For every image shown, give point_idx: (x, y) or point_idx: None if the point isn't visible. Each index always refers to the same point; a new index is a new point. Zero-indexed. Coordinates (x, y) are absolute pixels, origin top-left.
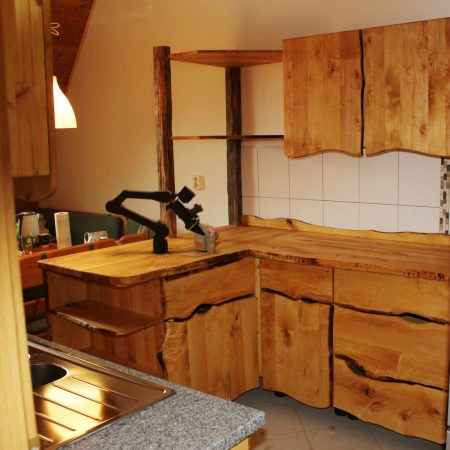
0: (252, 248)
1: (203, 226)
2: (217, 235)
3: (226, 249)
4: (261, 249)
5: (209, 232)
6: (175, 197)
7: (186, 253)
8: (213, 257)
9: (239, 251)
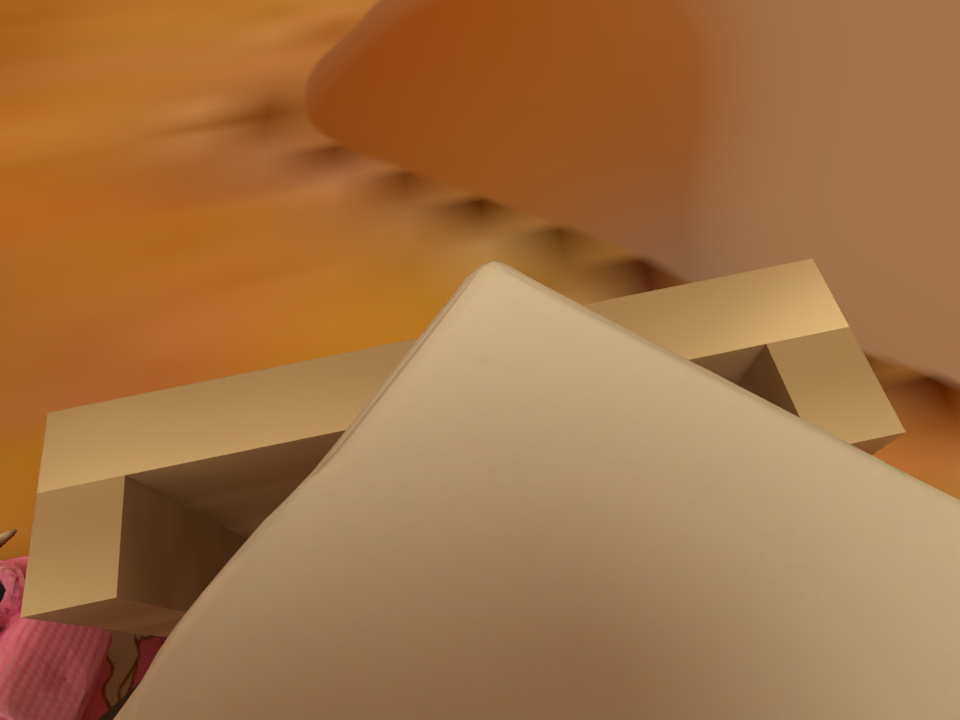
0: (207, 91)
1: (955, 529)
2: None
3: (252, 352)
4: (278, 13)
5: (136, 535)
6: None
7: None
8: (948, 390)
9: (408, 173)
